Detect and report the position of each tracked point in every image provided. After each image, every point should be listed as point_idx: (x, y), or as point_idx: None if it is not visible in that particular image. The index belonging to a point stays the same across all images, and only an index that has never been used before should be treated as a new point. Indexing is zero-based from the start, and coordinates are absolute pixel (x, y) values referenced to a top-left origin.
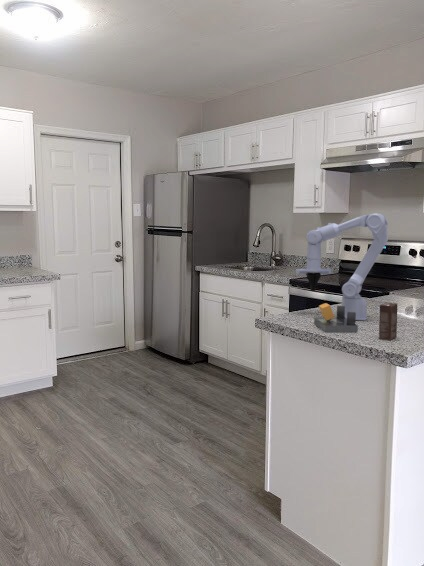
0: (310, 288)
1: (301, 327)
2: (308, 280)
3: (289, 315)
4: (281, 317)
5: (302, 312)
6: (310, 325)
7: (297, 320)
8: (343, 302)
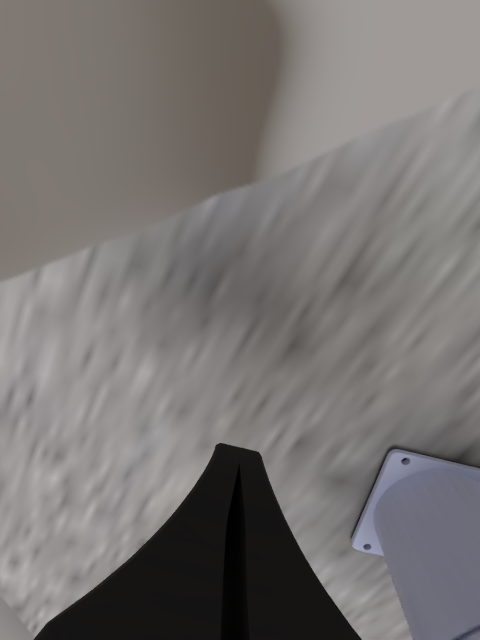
0: (212, 455)
1: (49, 588)
2: (149, 541)
3: (78, 324)
4: (5, 366)
5: (217, 248)
6: (108, 571)
7: (81, 464)
8: (412, 619)
